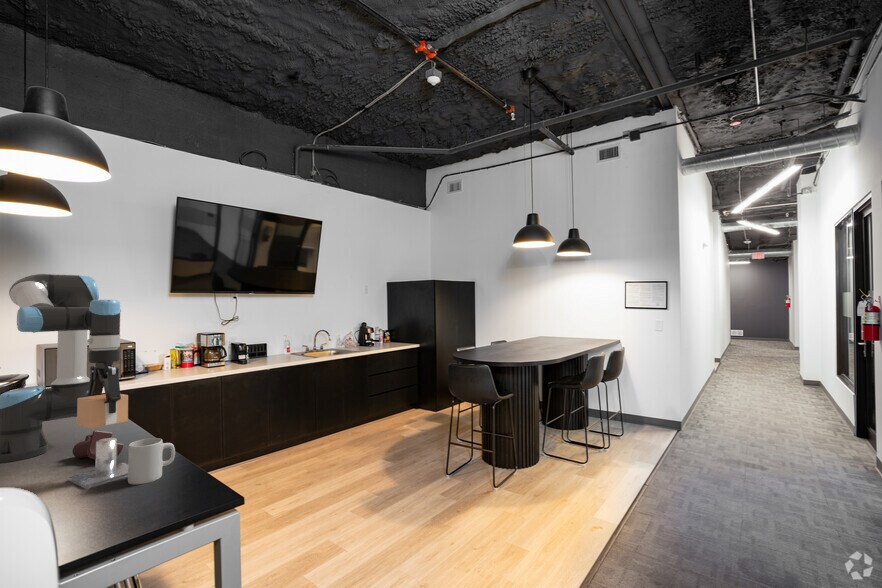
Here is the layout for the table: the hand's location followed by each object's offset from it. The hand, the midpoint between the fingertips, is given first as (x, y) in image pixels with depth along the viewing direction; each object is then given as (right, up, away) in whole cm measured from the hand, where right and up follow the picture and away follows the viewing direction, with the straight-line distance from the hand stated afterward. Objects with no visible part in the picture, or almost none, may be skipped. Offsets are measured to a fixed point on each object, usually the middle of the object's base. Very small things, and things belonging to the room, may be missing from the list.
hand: (103, 422), depth 130 cm
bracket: (-13, -18, +14) cm, 26 cm away
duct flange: (+1, -17, -1) cm, 17 cm away
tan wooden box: (0, 0, 0) cm, 0 cm away
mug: (+16, -17, -1) cm, 23 cm away
